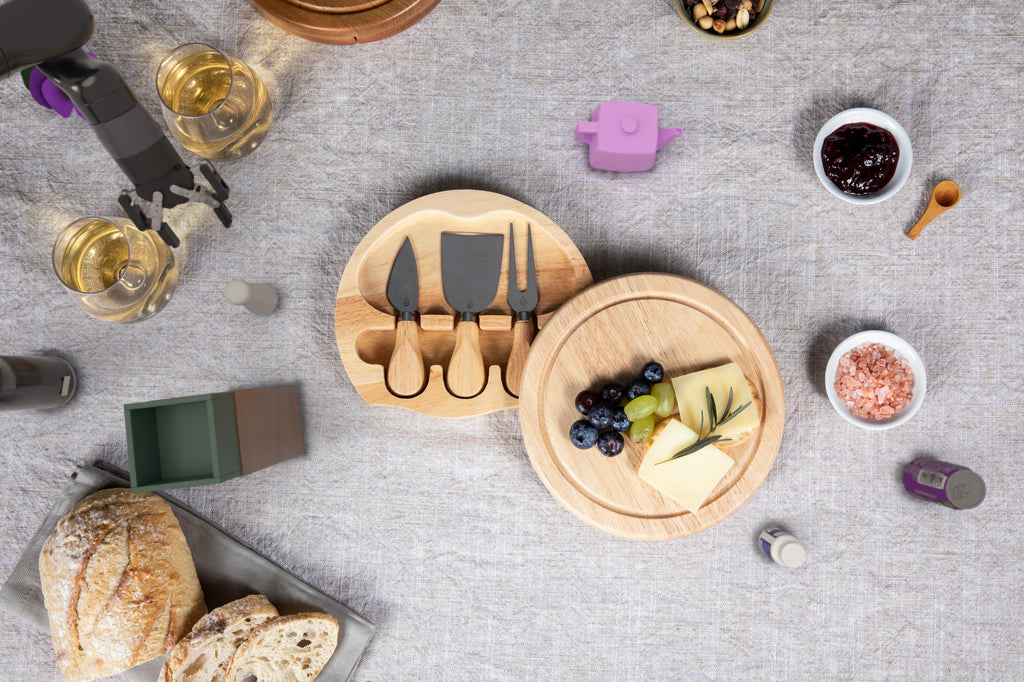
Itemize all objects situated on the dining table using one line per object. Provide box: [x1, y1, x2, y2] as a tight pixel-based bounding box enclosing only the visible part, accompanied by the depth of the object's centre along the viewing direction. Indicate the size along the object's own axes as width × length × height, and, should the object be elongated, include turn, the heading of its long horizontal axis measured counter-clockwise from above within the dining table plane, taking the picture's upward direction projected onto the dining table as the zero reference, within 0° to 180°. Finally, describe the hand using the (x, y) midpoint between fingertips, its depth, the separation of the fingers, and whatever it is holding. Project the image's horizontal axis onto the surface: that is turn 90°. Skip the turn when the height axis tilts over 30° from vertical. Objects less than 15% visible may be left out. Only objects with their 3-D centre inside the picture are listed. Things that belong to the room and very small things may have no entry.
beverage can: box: [902, 457, 987, 511], centre depth 110 cm, size 7×7×12 cm
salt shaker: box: [223, 278, 279, 316], centre depth 113 cm, size 6×6×13 cm
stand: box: [151, 385, 306, 478], centre depth 105 cm, size 12×12×26 cm
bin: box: [123, 392, 242, 495], centre depth 89 cm, size 12×12×7 cm
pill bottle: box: [758, 526, 807, 569], centre depth 112 cm, size 5×5×9 cm
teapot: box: [573, 101, 684, 173], centre depth 115 cm, size 18×10×10 cm, turn 87°
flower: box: [19, 51, 100, 122], centre depth 117 cm, size 15×15×14 cm
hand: (203, 235), depth 102 cm, fingers open, 8 cm apart
